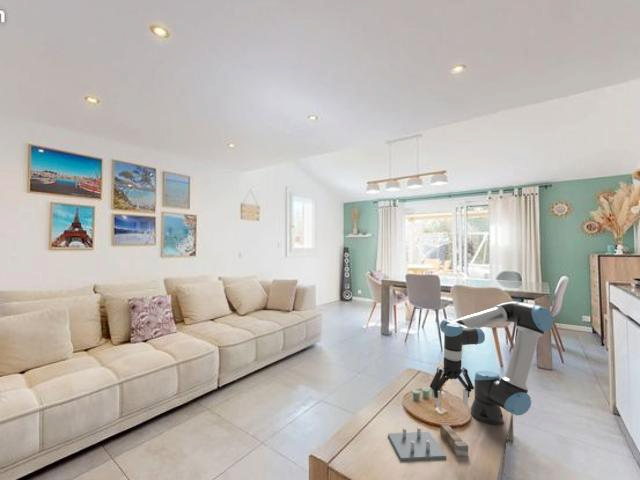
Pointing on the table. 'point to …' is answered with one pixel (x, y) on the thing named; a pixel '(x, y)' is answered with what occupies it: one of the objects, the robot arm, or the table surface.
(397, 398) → the table surface
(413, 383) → the table surface
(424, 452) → the slate peg board
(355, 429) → the table surface
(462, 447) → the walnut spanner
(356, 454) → the table surface
